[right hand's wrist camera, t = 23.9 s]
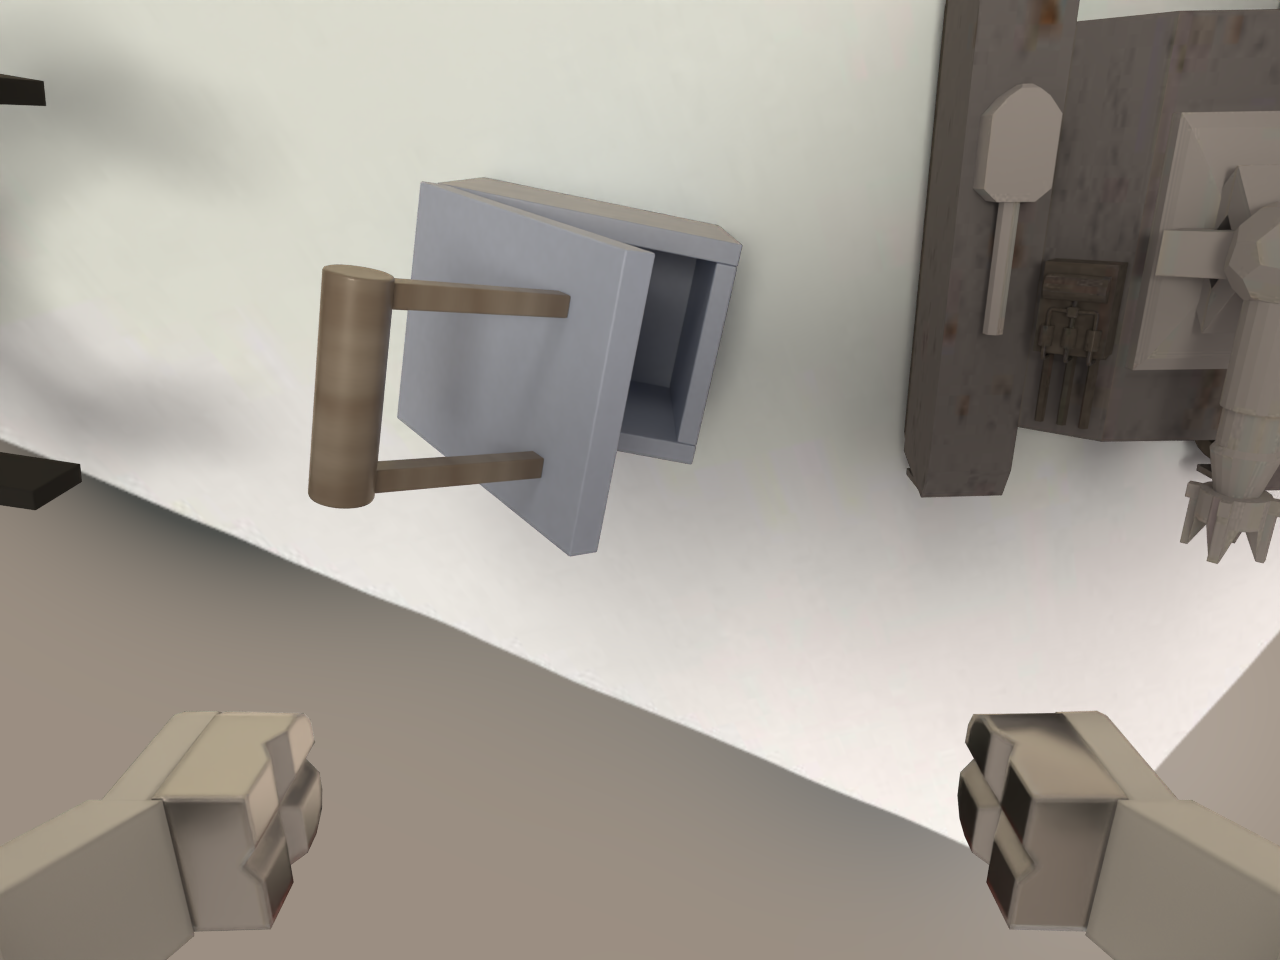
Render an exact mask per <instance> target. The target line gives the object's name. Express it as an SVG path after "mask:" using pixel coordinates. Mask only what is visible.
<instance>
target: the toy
mask: <svg viewBox="0 0 1280 960" xmlns="http://www.w3.org/2000/svg"><path fill="white" fill-rule="evenodd" d="M1079 1H1080V0H946V6H945V13H944V23H943V34H942V44H941V54H940V65H939V75H938V86H937V96H936V107H935V117H934V128H933V138H932V149H931V159H930V169H929V180H928V190H927V201H926V211H925V222H924V232H923V243H922V253H921V264H920V274H919V284H918V295H917V305H916V316H915V326H914V337H913V347H912V358H911V368H910V378H909V389H908V399H907V410H906V420H905V431H904V432H905V446H904V452H905V455H906V457H907V460H908V463H909V466H910V468H907V475H908V477H909V478H910V479H911V481H912V482H913V483H914V485H915V486H916V487H917V489H918V490H919V493H920V496H921V497H953V496H991V495H1002V493H1003V491H1004V488H1005V485H1006V482H1007V480H1008V477H1009V474H1010V471H1011V467H1012V460H1013V453H1014V447H1015V440H1016V434H1017V427H1022V428H1027V429H1033V430H1039V431H1044V432H1050V433H1056V434H1062V435H1067V436H1073V437H1079V438H1084V439H1090V440H1096V441H1175V440H1195V442H1196V444H1197V446H1198V447H1199V449H1200V450H1201V451H1202V452H1203V453H1204V454H1205V455H1206V456H1208V457H1209V458H1210V459H1211V464H1198V465H1197V471H1199V472H1201V473H1202V474H1204V475H1206V476H1208V477H1210V478H1211V479H1212V482H1206V483H1199V482H1194V481H1190V482H1189V483H1188V485H1187V489H1186V494H1185V496H1186V497H1190V500H1189V505H1188V509H1187V513H1186V518H1185V522H1184V527H1183V531H1182V536H1181V540H1180V542H1181V543H1185V544H1188V542H1189V541H1190V540H1191V539H1192V538H1193V537H1194V536H1195V535H1196V534H1197V533H1198V532H1199V531H1200V530H1201V529H1202V528H1203V527H1204V526H1205V525H1206V528H1207V544H1208V557H1207V561H1208V562H1212V563H1216V564H1218V563H1219V562H1220V560H1221V558H1222V557H1223V555H1224V554H1225V552H1226V551H1227V549H1228V548H1229V546H1230V544H1231V543H1235V542H1236V540H1237V539H1238V537H1239V535H1240V534H1241V532H1246V535H1247V538H1248V541H1249V544H1250V547H1251V550H1252V553H1253V556H1254V559H1255V561H1256V562H1260V563H1264V562H1265V560H1266V556H1267V552H1268V549H1269V545H1270V541H1271V537H1272V534H1273V530H1274V526H1275V522H1276V519H1277V517H1280V499H1275V498H1273V496H1272V495H1271V494H1270V493H1268V492H1267V491H1265V490H1280V9H1270V10H1211V11H1175V12H1165V13H1156V14H1146V15H1136V16H1127V17H1117V18H1107V19H1098V20H1088V21H1078V22H1077V15H1078V8H1079Z"/></svg>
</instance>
